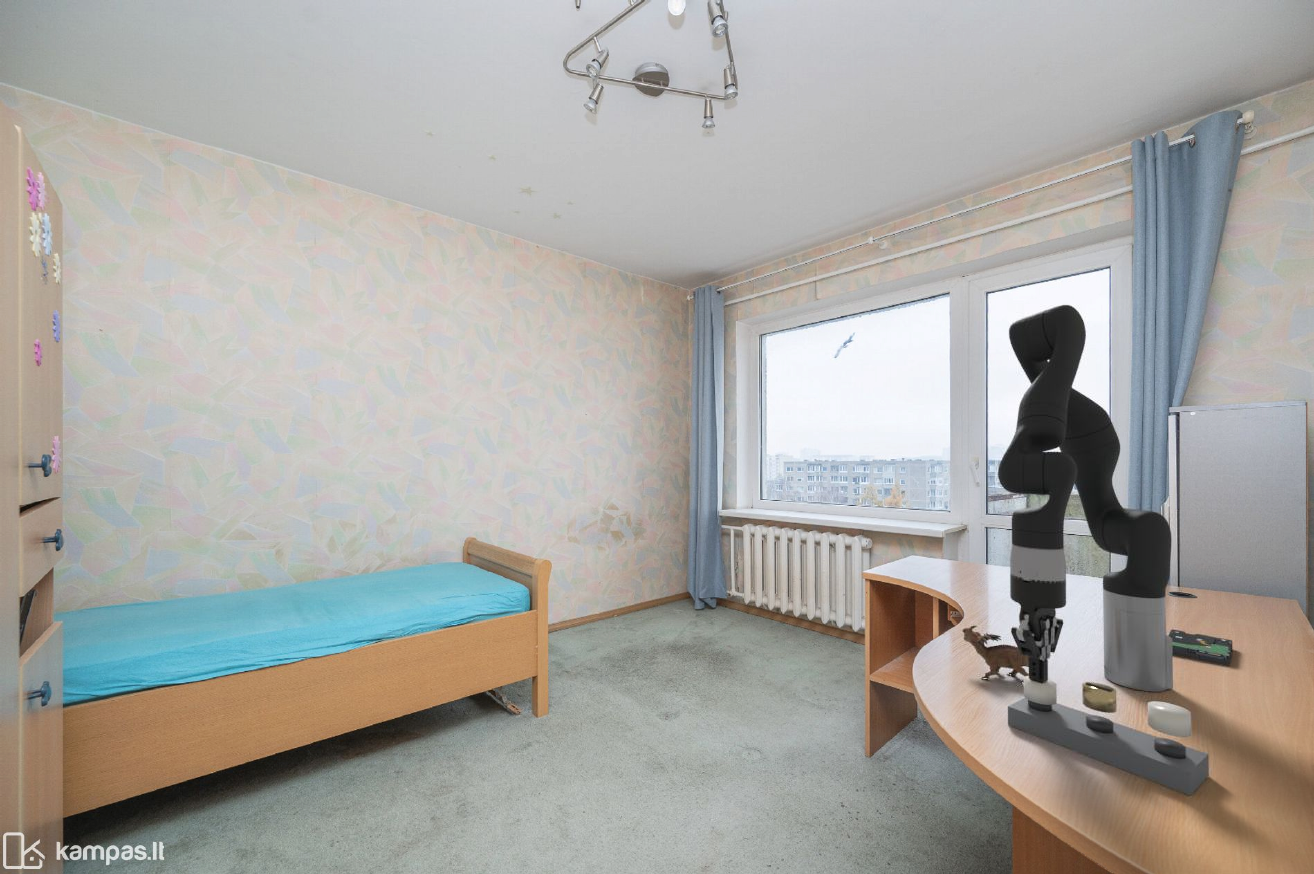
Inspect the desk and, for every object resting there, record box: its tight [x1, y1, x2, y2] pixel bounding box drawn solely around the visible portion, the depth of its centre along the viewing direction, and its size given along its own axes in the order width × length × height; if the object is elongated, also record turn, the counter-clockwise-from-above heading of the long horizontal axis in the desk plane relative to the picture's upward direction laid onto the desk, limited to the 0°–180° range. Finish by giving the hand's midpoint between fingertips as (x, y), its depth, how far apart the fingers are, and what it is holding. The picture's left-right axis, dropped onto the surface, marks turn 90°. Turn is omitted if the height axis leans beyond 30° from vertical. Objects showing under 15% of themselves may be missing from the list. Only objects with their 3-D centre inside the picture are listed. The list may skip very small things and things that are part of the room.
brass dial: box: [1081, 681, 1118, 714], centre depth 84 cm, size 4×4×3 cm
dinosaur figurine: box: [962, 625, 1029, 683], centre depth 109 cm, size 14×6×9 cm, turn 67°
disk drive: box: [1167, 628, 1233, 667], centre depth 124 cm, size 10×3×15 cm
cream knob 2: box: [1147, 701, 1192, 738], centre depth 77 cm, size 4×4×3 cm
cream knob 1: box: [1023, 676, 1058, 705], centre depth 90 cm, size 4×4×3 cm
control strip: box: [1007, 697, 1210, 796], centre depth 83 cm, size 22×8×4 cm, turn 33°
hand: (1038, 680), depth 90 cm, fingers closed
